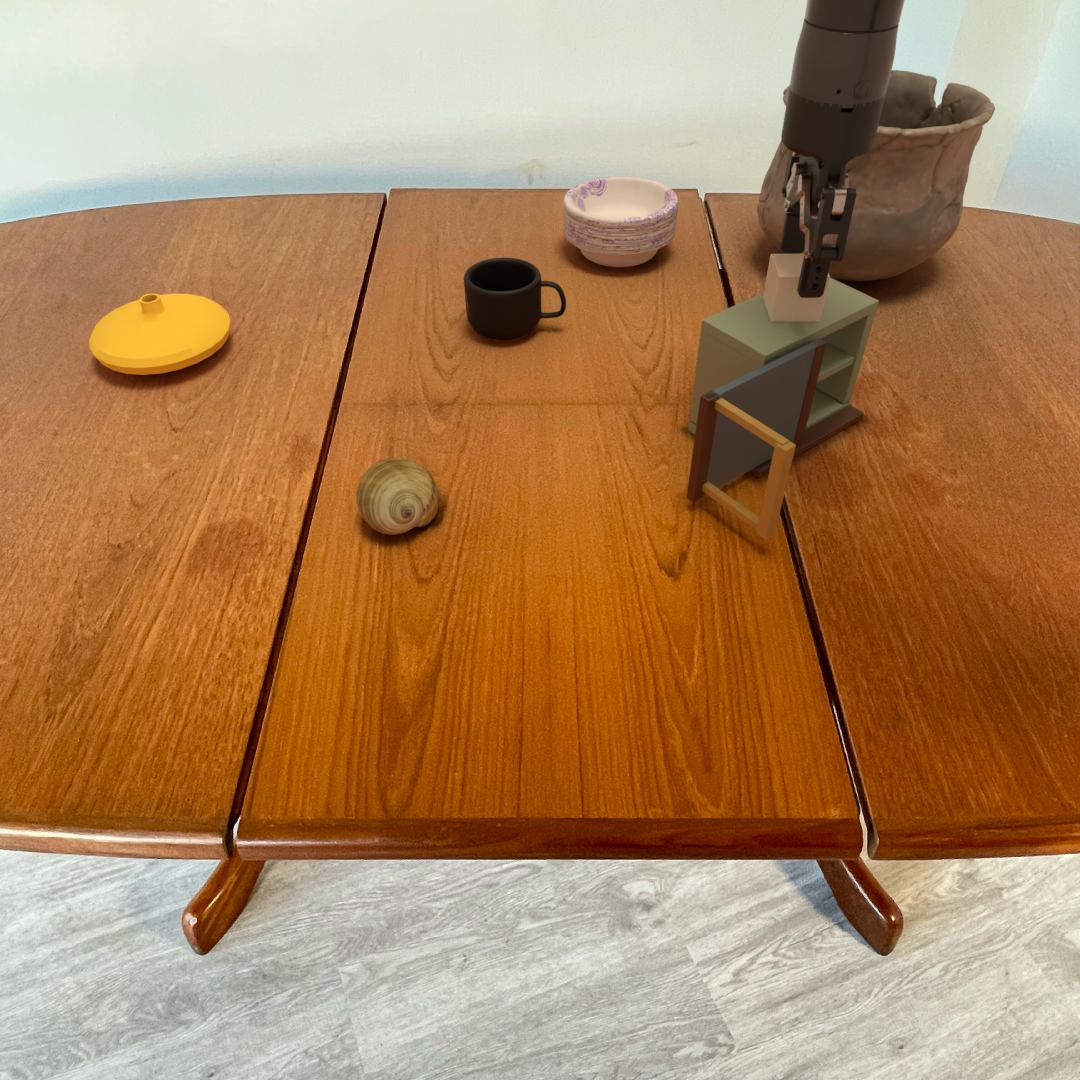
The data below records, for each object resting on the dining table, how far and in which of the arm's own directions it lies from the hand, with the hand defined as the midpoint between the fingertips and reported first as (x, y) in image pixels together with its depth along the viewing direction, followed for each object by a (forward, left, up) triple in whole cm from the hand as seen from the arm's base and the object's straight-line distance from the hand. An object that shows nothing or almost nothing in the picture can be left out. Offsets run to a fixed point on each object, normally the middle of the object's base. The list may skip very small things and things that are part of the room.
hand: (800, 273), depth 81 cm
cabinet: (0, 0, -17) cm, 17 cm away
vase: (+55, -43, -17) cm, 72 cm away
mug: (+16, -29, -17) cm, 37 cm away
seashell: (+40, -4, -17) cm, 44 cm away
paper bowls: (-5, -41, -17) cm, 45 cm away
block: (0, 0, -4) cm, 4 cm away
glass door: (+7, +11, -16) cm, 20 cm away
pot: (-30, -24, -17) cm, 42 cm away
